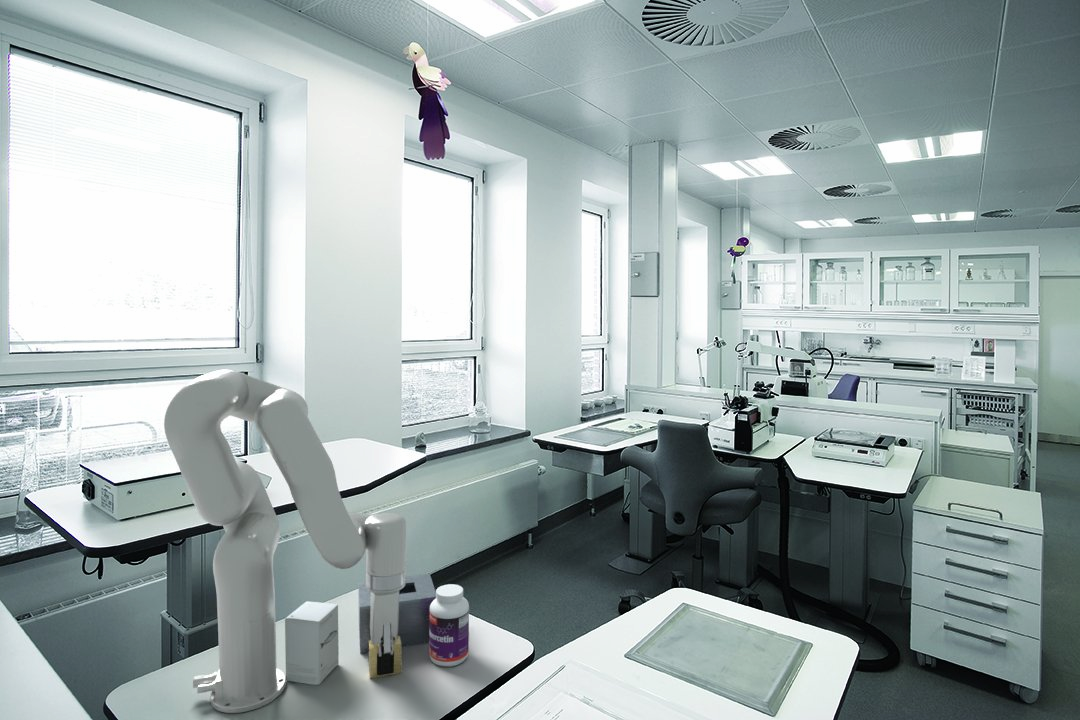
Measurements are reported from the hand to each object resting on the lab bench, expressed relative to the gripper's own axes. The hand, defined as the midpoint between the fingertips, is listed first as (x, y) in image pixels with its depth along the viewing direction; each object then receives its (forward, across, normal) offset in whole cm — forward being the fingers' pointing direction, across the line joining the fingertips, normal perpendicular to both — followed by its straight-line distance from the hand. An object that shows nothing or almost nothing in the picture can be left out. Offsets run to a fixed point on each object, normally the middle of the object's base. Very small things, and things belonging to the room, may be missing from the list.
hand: (384, 667), depth 117 cm
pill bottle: (+1, -1, +13) cm, 13 cm away
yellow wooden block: (+1, 0, 0) cm, 1 cm away
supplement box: (+1, -4, -13) cm, 14 cm away
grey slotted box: (+1, -14, +4) cm, 14 cm away
